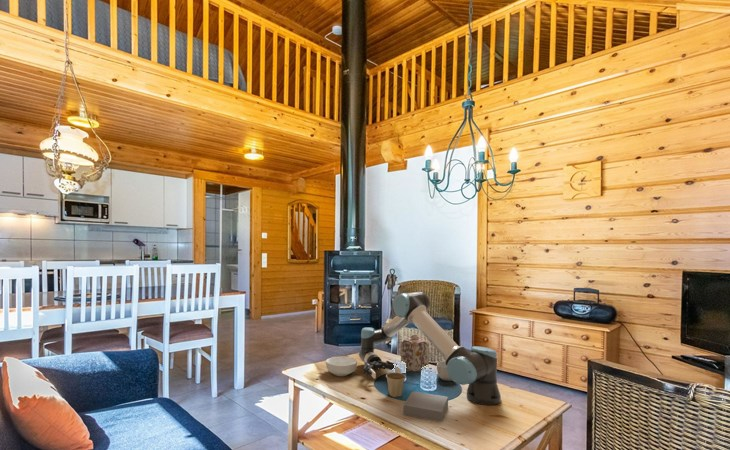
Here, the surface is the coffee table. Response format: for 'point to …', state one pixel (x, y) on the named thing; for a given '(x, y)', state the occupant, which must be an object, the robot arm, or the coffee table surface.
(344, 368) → the cereal bowl
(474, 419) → the coffee table surface
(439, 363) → the teacup
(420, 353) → the decorative jar
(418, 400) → the plinth
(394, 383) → the flower pot
